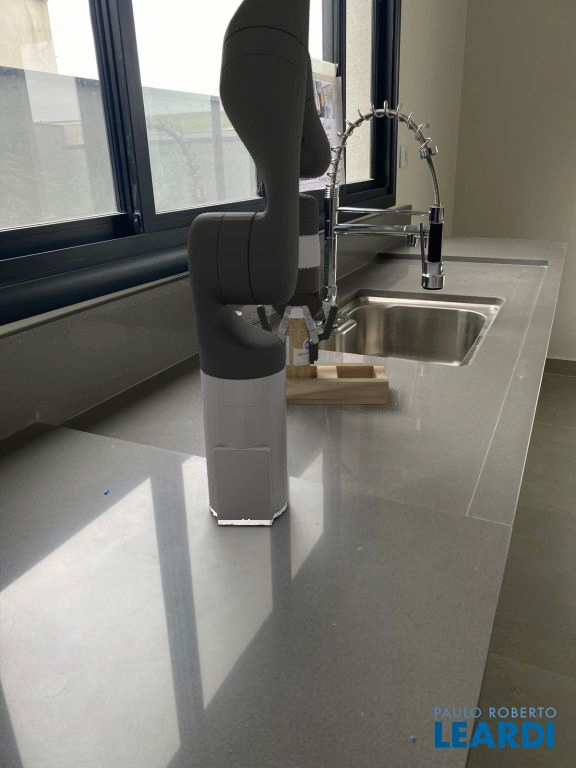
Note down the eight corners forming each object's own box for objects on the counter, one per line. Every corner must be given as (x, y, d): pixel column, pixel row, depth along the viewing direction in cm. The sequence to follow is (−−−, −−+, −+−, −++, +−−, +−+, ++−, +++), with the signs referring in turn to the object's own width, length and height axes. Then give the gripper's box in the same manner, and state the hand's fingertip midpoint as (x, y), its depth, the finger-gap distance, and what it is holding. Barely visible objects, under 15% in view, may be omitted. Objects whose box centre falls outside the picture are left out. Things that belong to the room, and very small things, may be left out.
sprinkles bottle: (306, 386, 102) (305, 308, 98) (280, 383, 104) (279, 306, 99) (314, 377, 106) (314, 302, 102) (289, 375, 108) (288, 300, 103)
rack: (387, 404, 100) (388, 381, 99) (267, 404, 101) (267, 381, 100) (381, 383, 110) (382, 362, 108) (271, 383, 111) (270, 363, 109)
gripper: (250, 266, 95) (254, 370, 100) (342, 265, 94) (340, 370, 100) (255, 259, 102) (258, 356, 107) (340, 258, 101) (338, 356, 107)
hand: (297, 362), depth 104 cm, fingers closed on sprinkles bottle, 4 cm apart
